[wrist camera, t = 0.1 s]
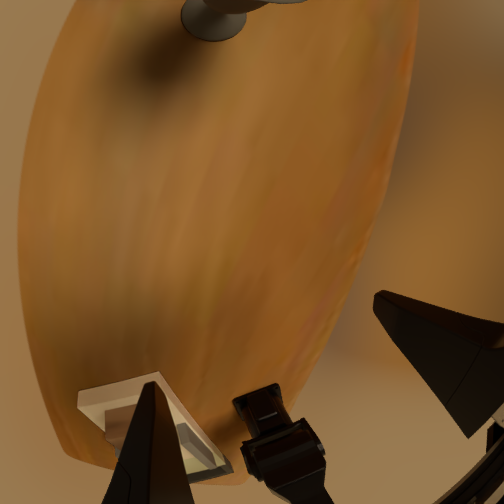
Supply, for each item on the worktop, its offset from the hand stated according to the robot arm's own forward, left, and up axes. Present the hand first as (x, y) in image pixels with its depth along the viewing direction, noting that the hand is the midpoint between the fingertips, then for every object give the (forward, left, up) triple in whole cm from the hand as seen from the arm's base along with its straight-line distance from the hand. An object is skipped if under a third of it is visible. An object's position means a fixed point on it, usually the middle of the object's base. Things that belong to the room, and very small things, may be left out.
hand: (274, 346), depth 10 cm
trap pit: (-46, +15, -15) cm, 50 cm away
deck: (-28, +15, -15) cm, 35 cm away
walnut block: (-19, +15, -12) cm, 27 cm away
